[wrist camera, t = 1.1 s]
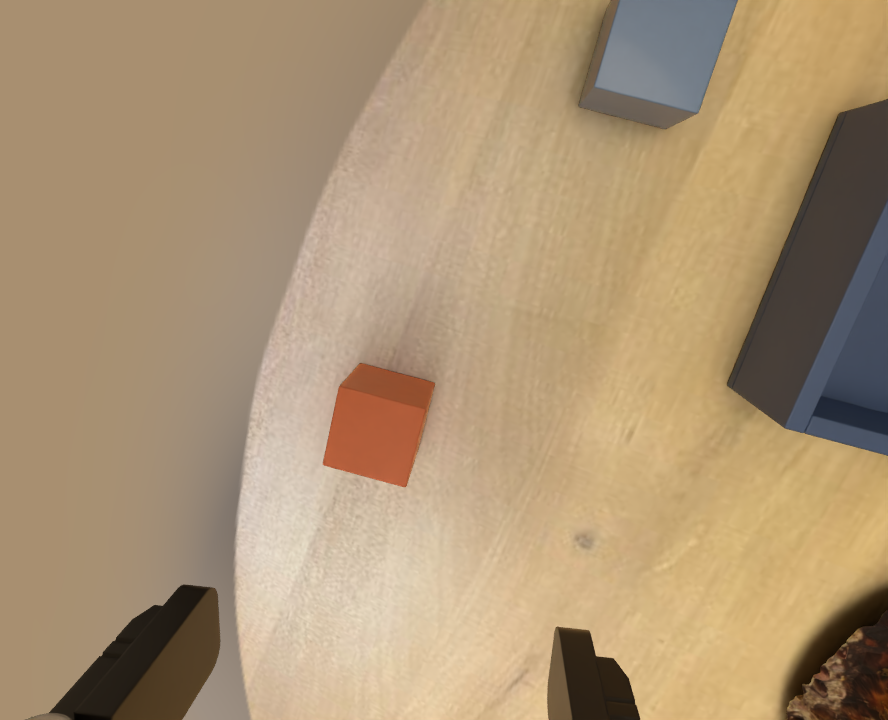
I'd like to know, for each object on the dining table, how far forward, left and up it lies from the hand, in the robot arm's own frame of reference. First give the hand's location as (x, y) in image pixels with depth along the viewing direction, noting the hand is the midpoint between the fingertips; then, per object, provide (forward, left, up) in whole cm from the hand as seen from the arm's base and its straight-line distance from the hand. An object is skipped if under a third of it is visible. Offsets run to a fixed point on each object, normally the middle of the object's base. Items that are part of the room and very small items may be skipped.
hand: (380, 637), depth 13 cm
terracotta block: (-3, -1, -16) cm, 16 cm away
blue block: (+4, +17, -16) cm, 24 cm away
